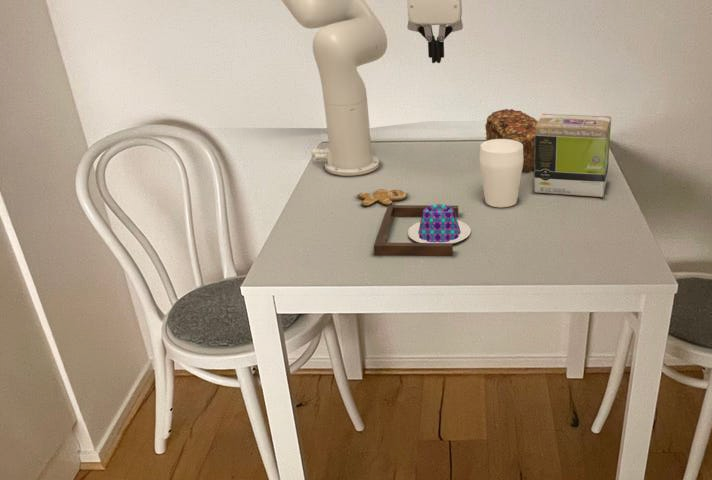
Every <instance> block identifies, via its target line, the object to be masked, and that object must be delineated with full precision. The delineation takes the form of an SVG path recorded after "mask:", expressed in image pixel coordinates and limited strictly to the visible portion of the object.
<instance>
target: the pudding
mask: <svg viewBox="0 0 712 480" xmlns="http://www.w3.org/2000/svg"><path fill="white" fill-rule="evenodd" d="M429 205H430V206H428V207H427V208H425V209H424V210H423V212H422V217H420V221H419V222H415V223H414V224H413V225H411V226H410V227H409V228H408V230H407V235H408V237H409V238H410V239H411V240H413V241H415V243H452V244H456V243H459V242H461V241H463V240H465V239H467V238H468V237H469V236H470V234H471V228H470V226H469V225H468V224H467V223H465V222H463V221H461V220H458V217H456V214H455V211H454V210H453V209H452V208H451V207H450V206H451V205H449V204H448V205H447V204H442V203H436V204H429Z"/></svg>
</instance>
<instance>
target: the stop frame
mask: <svg viewBox="0 0 712 480" xmlns="http://www.w3.org/2000/svg"><path fill="white" fill-rule="evenodd" d="M430 205H431V204H429V205H427V204H425V205H424V204H422V205H421V204H390V205H387V207H386V210H385V213H384V216H383V219H382V221H381V224H380V227H379V230H378V233H377V235H376V238H375V241H374V244H373V250H374V251H373V252H374V256H418V257H419V256H420V257H421V256H424V257H425V256H426V257H427V256H430V257H431V256H433V257H434V256H435V257H437V256H438V257H452V256H453V254H454V250H453V248H454V247H453V243H419V242H386V241H387V239H388V235H389V233H390V230H391V226H392V224H393V220H394V218H395V217H410V218H411V217H413V218H415V217H416V218H417V217H419V218H421V217H422V212H423V210H424V209H425V208H427V207H428V206H430ZM449 206H450V207H451V208H452V209H453V210H454V211H455V214H456V218H458V217H459V215H460V213H459V205H449Z"/></svg>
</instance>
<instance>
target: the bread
mask: <svg viewBox="0 0 712 480" xmlns="http://www.w3.org/2000/svg"><path fill="white" fill-rule="evenodd" d="M538 121H539V120H537V119H536V118H535V117H533V116H531V115H529V114H527V113H525V112H523V111H521V110H515V109H513V108H510V109H508V108H504V109H501V110H500V109H499V110H496V111H493V112H491V114H490V115H488V116H487V117H486V123H485V125H484V126H485V139H486V141H488V140H493V139H510V140H515V141H518V142H520V143H522V144H523V157H524V162H523V168H522V172H525V173H527V172H531V171H532V170H534V160H535V126H536V125H537V123H538Z"/></svg>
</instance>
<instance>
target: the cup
mask: <svg viewBox="0 0 712 480" xmlns="http://www.w3.org/2000/svg"><path fill="white" fill-rule="evenodd" d="M478 161H479V168H480V174H481V182H482V183H481V184H482V188H483V194H484V202H485V204H487V205H488V206H489V207H494V208H500V209H501V208H509V207H513V206H514V205H516V204H517V202H518V196H519V191H520V185H521V181H522V180H521V179H522V173H523V171H522V168H523V162H524V157H523V144H522V143H520V142H518V141H515V140H510V139H493V140H488V141H487V140H485V141H483V142H481V143H480V144H479V157H478Z"/></svg>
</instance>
